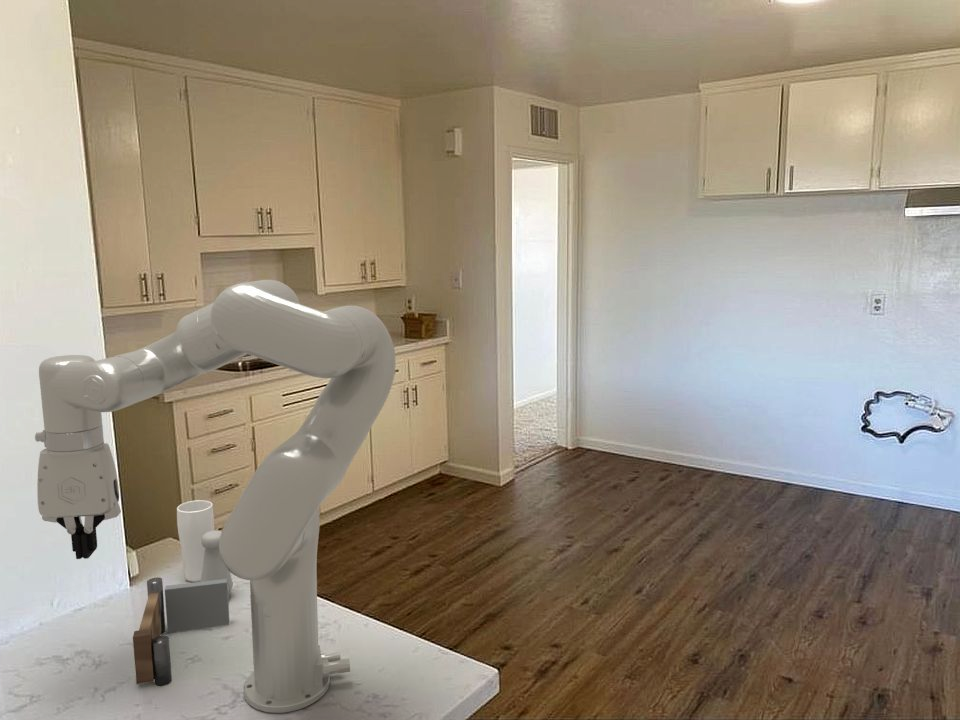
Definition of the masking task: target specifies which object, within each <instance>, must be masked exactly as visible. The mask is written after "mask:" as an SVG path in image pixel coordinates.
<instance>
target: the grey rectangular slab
mask: <svg viewBox="0 0 960 720" xmlns="http://www.w3.org/2000/svg"><path fill="white" fill-rule="evenodd" d="M164 597H165V599H164V600H165V601H164V603H165V611H166V613H165V614H166V616H165V617H166V631H167V634H170V633H179V632H187V631H193V630H194V631H195V630H201V629H209V628H216V627H224V626H229V625H230V609H229V608H230V607H229V596H228V585H227V579H220V580H211V581H203V582H201V581H200V582H187V583H180V584H179V583H178V584H170V585H165V588H164Z"/></svg>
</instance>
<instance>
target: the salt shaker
mask: <svg viewBox="0 0 960 720" xmlns="http://www.w3.org/2000/svg"><path fill="white" fill-rule="evenodd" d="M221 532H222V530H218V529H217V530H215V529H214V531H209V532H206V533H205V534H204V535H203V536H202V539H201V542H202V546H203V547H204V548H205V552H204V560H203V568H202V576H201V581H200V582H203V581H211V580H220V579H227V585H228V597H229V596H230V594H231V592H232V588H233V584H234V582H233V579H232V575H231V572H230V571H229V570H228V569H227V568H226V566H225V565H224V563H223V561H222V558H221V555H220V549H219V542H220V536H221Z"/></svg>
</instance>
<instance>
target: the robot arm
mask: <svg viewBox="0 0 960 720" xmlns="http://www.w3.org/2000/svg"><path fill="white" fill-rule="evenodd" d="M395 350H396V349H395V346H394V343H393V340H392V337H391V334H390V333H389V330H388V328H387V327H386V325H385V324H384V322H383V321H382V320H381V319H380V318H379V316H377V315H376V314H375V313H374V312H373V311H371V310H370V309H367V308H365V307H362V306H358V305H343V306H339V307H334V308H332V309H328V310H326V311H322V310H319V309H315V308H312V307H309V306H307V305H304V304H301V302H300V300H299V297H298V295H297V294H296V292H295V291H294V290H293V289H292V288H291V287H289V285H287V284H285V283H283V282H281V281H278V280H275V279H260V280H254V281H246V282H240V283H236V284H233V285H230V286H228V287H226V288H225V289H224V290H222V291H221V293H219V294H218V296H216V298H215V300H214V301H213V302H212V303H210V304H207V305H206V306H204V307H201V308H199V309H198V310H195V311H193V312H191V313H189V314H187V315H185V316H183V317H181V318H180V320H179V321H178V323H177V325H176V331H174V332H173V333H171V334H169V335H167V336H165V337H163V338H161V339H158V340H157V341H155V342H153V343H150V344H148V345H146V346H144V347H142V348H140V349H137V350H134V351H129V352H126V353H125V352H124V353H122V354H117V355H114V356H110V357H107V358H102V359H100V360H99V359H98V360H95V359H94V358H93V357H91V356H88V355H82V354H70V355H69V354H68V355H66V354H65V355H59V356H52V357H49V358H46V359H44V360H42V361H41V362H40V364H39V366H38V377H39V385H40V386H39V387H40V397H41V407H42V417H43V418H42V419H43V430H42V431H41V432H36V433H35V434H34V435H35V436H34V439H35V441H36V442H37V443H39V442H41V443H43V444H44V449H42V450H41V451H40V452H39V457H38V466H37V467H38V468H37V492H36V493H37V507H38V512H39V514H40V515H41V516H42V517H41V520H43V522H50V523H54V524H55V523H57V524H58V525H60V526H61V527H63V528H64V529H65V530H66V533H67V534H68V535H70V536H71V538H70V540H71V548H72V552H75V559H76V560H81V559H82V558H83V559H85V560H86V559H87V560H88V559H89V558H90V557H91V556H92V555H93V553H94V552H95V551H96V550H97V548H98V537H97V527H99V525H100V524H102V522H103V521H107V520H111V519H115V518H117V517H118V516H120V514H121V512H122V511H121V507H120V505H119V501H120V487H119V479H118V475H117V470H116V465H115V461H114V457H113V453H112V450H111V448H110V445H109V443H107V442H105V439H104V429H103V427H104V426H103V418H102V413H112V412H116V411H119V410H122V409H125V408H127V407H130V406H132V405H134V404H137V403H140V402H142V401H145V400H148V399H151V398H153V397H155V396H158V395H160V394H163V393H164V392H166V391H169V390H171V389H173V388H175V387H177V386H180V385H182V384H183V383H186V382H188V381H190V380H192V379H195V378H197V377H199V376H200V375H202V374H208V373H211V372H213V371H215V370H217V369H219V368H222V367H223V366H225V365H228V364H230V363H232V362H233V361H234V362H235V361H236V360H238V359H240V358H242V357H245V356H246V355H249V356H253V357H255V358H257V359H258V358H259V359H261V360H264V361H266V362H268V363H271V364H275V365H278V366H280V367H283V368H286V369H289V370H292V371H294V372H298V373H301V374H303V375H306V376H309V377H313V378H319V379H329V381H328V382H327V384H326V386H325V387H324V388H323V389H322V391H321V392H320V394H319V396H318V397H317V399H316V401H315V403H314V404H313V407H312V409H311V410H310V412H309V413H308V415H307V417H306V418H305V420H304V421H303V423H302V424H301V426H300V427H299V429H298V430H297V431H296V432H295V433H294V434H293V435H292V436H291V437H289V438H287V440H286V441H283V442H282V443H281V444H280V445H278V446H277V447H276V448H274V449H273V450H272V451H270V453H269V454H268V455H267V456H265V458H264V459H263V461H261V463H260V465H258V467H257V468H256V469H255V471H254V473H253V475H252V476H251V478H250V480H248V481H249V482H248V483H247V485H246V487H245V489H244V490H243V492H242V493H241V495H240V497H239V499H238V501H237V502H236V505H234V507H233V509H232V511H231V513H230V514H229V516H228V518H227V520H226V521H225V524H224V526H223V528H222V530H221V531H222V532H221V536H220V542H219V549H220V555H221V558H222V561H223V563H224V565H225V566H226V568H227V569H228V570H229V571H230V574H232V575H234V576H236V577H237V578H239V579H241V580H245V581H249V585H250V591H249V592H250V595H249V596H250V613H251V614H250V616H251V636H252V638H251V639H252V657H253V671H252V672H251V674H249V676H248V677H247V678H246V680H245V682H244V684H243V694H244V695H243V696H244V699H245V701H246V703H248V704H249V705H250V706H251V707H252V708H254V709H256V710H258V711H262V712H266V713H276V714H277V713H280V714H281V713H290V712H293V711H297V710H301V709H304V708H306V707H308V706H310V705H312V704H314V703H315V702H317V701H319V700H320V699H321V698H323V696H324V695H325V694H326V692H327V691H328V690H329V686H330V684H331V677H330V675H334V674H343V673H350V672H351V660H350V658H343V659H341V652H335V653H330V654H325V653H321V651H322V650H321V645H319V622H318V621H319V619H318V618H319V617H318V594H317V593H318V578H317V575H318V572H317V570H318V569H317V560H318V558H317V557H318V545H319V534H320V511H319V508H320V507H321V505H322V504H323V503H324V501H326V500H327V498H328V497H329V496H331V494H332V493H333V492H334V491H335V490H336V489H337V488H338V486H339V485H340V483H341V482H342V480H343V479H344V477H345V475H346V472H347V471H348V469H349V467H350V466H351V463H352V462H353V460H354V458H355V456H356V455H357V453H358V451H359V449H360V447H361V446H362V444H363V443H364V441H365V440H366V437H367V436H368V434H369V432H370V430H371V429H372V427H373V424H374V423H375V421H376V420H377V418H378V416H379V414H380V413H381V411H382V409H383V407H384V406H385V404H386V402H387V399H388V397H389V394H390V391H391V390H392V386H393V383H394V379H395V375H396V374H395V373H396V363H397V362H396V351H395ZM82 517H84V525H83V519H82Z"/></svg>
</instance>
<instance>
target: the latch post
mask: <svg viewBox="0 0 960 720" xmlns="http://www.w3.org/2000/svg"><path fill="white" fill-rule="evenodd" d="M170 649H171V648H170V637H169V636H168V635H164V634H162V635H160V636H158V637H155V638H154V639H153V640H152V654H153V667H154V686H155V687H164V686H168V685H169V684H171V682H172V680H173V679H172V677H173V676H172V665H171V664H172V663H171V651H170Z"/></svg>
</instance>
